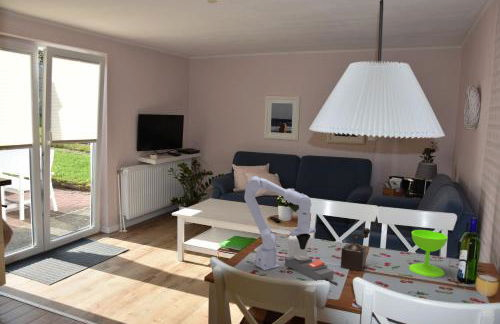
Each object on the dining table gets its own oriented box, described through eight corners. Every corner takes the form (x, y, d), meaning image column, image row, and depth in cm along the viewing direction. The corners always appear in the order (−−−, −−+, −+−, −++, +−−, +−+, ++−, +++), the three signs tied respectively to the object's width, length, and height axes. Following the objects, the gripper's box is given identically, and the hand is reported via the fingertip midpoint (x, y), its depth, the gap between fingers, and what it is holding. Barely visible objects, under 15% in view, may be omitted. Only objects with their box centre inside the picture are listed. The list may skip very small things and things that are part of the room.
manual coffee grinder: (363, 271, 191) (365, 235, 189) (340, 267, 196) (342, 231, 194) (369, 262, 205) (371, 227, 203) (347, 258, 210) (349, 224, 208)
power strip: (330, 287, 171) (331, 277, 171) (284, 264, 196) (285, 255, 196) (344, 283, 176) (344, 273, 176) (297, 262, 201) (298, 253, 201)
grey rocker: (299, 260, 189) (299, 257, 189) (293, 257, 192) (294, 255, 192) (308, 260, 193) (309, 258, 193) (303, 258, 196) (303, 255, 196)
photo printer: (305, 256, 210) (306, 233, 209) (307, 259, 206) (308, 235, 205) (286, 256, 209) (287, 233, 207) (288, 259, 204) (289, 235, 203)
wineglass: (401, 266, 200) (404, 231, 198) (426, 263, 206) (429, 229, 204) (425, 278, 185) (429, 240, 184) (452, 274, 191) (455, 238, 189)
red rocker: (314, 269, 181) (313, 267, 181) (308, 266, 184) (307, 264, 184) (324, 264, 184) (324, 262, 184) (318, 261, 188) (317, 259, 187)
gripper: (297, 224, 183) (296, 253, 184) (320, 221, 191) (319, 248, 193) (287, 221, 189) (286, 249, 190) (310, 218, 197) (309, 245, 198)
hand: (302, 249), depth 192 cm, fingers closed
